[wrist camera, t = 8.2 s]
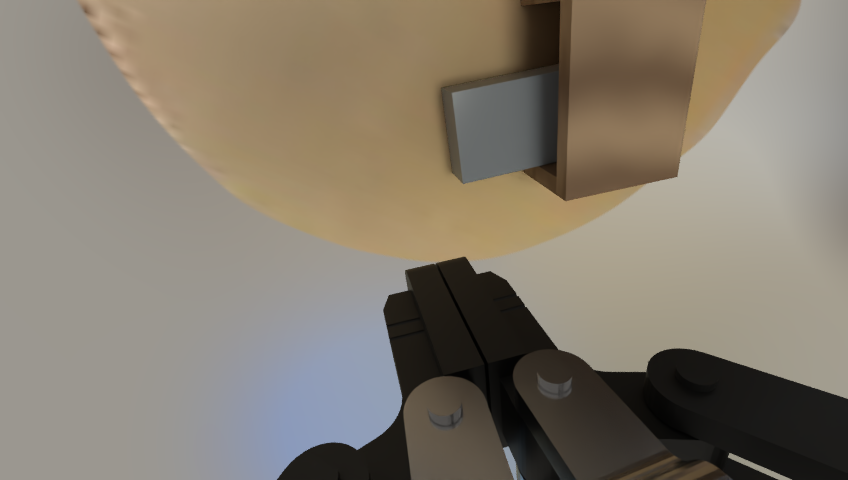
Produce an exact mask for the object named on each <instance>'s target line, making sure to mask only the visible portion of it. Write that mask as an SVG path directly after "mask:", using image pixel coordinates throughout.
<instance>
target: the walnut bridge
mask: <svg viewBox="0 0 848 480" xmlns="http://www.w3.org/2000/svg"><path fill="white" fill-rule="evenodd" d="M556 1H560V45H559V91H558V137H557V162H554V163H550V164H546V165H541V166H537V167H533V168H529V169H524V173H526V174H527V175H529V176H530V177H531V178H533V179H534V180H536V181H537V182H539V183H540V184H542V185H543V186H544V187H546V188H547V189H549V190H550V191H552V192H553V193H555V194H556V195H557V196H559V197H560V198H562V199H563V200H565V201H568V200H573V199H577V198H582V197H587V196H591V195H596V194H600V193H605V192H610V191H614V190H619V189H623V188H628V187H633V186H637V185H642V184H646V183H651V182H655V181H660V180H665V179H669V178H674V177H677V175H678V169H679V163H680V157H681V151H682V145H683V139H684V132H685V126H686V120H687V114H688V108H689V102H690V96H691V90H692V84H693V78H694V72H695V66H696V60H697V54H698V48H699V41H700V35H701V29H702V23H703V17H704V11H705V5H706V0H521V6H525V5H532V4H540V3H548V2H556Z"/></svg>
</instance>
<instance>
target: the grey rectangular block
mask: <svg viewBox="0 0 848 480" xmlns="http://www.w3.org/2000/svg"><path fill="white" fill-rule="evenodd" d="M441 91H442V98H443V106H444V113H445V121H446V128H447V136H448V144H449V151H450V159H451V166H452V173H453V174H454V175H455V176H456V177H457V178H458V179H459V180H460V181H461V182H462V183H463V184H465V183H469V182H473V181H478V180H482V179H486V178H490V177H495V176H499V175H503V174H507V173H512V172H516V171H520V170H524V169H529V168H533V167H537V166H541V165H546V164H550V163H554V162H557V137H558V91H559V64H556V65H551V66H546V67H541V68H536V69H531V70H526V71H522V72H517V73H512V74H507V75H502V76H497V77H492V78H487V79H482V80H477V81H473V82H468V83H463V84H458V85H453V86H448V87H443V88H441Z"/></svg>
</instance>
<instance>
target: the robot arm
mask: <svg viewBox="0 0 848 480" xmlns="http://www.w3.org/2000/svg"><path fill="white" fill-rule="evenodd" d="M405 275H406V281H407V287H408V291H405V292H401V293H396V294H392V295H389V296H388V299H387V302H386V304H385V307H384V310H383V311H384V316H385V321H386V325H387V330H388V335H389V339H390V344H391V348H392V353H393V358H394V362H395V366H396V371H397V375H398V380H399V384H400V389H401V393H402V405H401V409H400V412H399V414H398V416H397V418H396V419H395V421H394V423H393V424H392V425H391V426H390V427H389V428H388V429H387V430H386V431H385V432H384V433H383V434H382V435H380V436H379V437H377V438H376V439H374V440H373V441H371V442H370V443H368V444H366V445H365V446H363V447H362V448H360V449H358V450H356V449H355V448H353V447H351V446H349V445H347V444H343V443H326V444H321V445H318V446H315V447H313V448H310V449H308V450H307V451H305V452H303V453H302V454H300V455H299V456H298V457H296V458H295V459H294V460H293V461H292V462H291V463H290V464H289V465H288V466H287V468H286V469H285V470H284V471H283V472H282V474H281V475H280V476H279V478H278V479H277V480H514V479H513V476H512V473H511V470H510V467H509V464H508V461H507V459H506V456H505V453H504V450H503V448H504V447H507V446H509V448H510V450H511V453H512V455H513V457H514V459H515V461H516V469H517V470H516V472H517V480H778V479H775V478H773V477H771V476H769V475H766V474H764V473H762V472H759V471H757V470H755V469H753V468H750V467H748V466H746V465H743V464H741V463H739V462H736V461H734V460H732V459H730V458H728V455H729V453H732V454H734V455H737V456H739V457H741V458H743V459H746V460H748V461H750V462H753V463H755V464H757V465H760V466H762V467H764V468H767V469H769V470H771V471H774V472H776V473H778V474H780V475H783V476H785V477H788V478H790V479H792V480H848V399H846V398H843V397H840V396H837V395H834V394H831V393H827V392H824V391H821V390H818V389H815V388H812V387H809V386H806V385H803V384H800V383H796V382H793V381H790V380H787V379H784V378H781V377H778V376H774V375H772V374H768V373H765V372H762V371H759V370H756V369H753V368H750V367H747V366H744V365H740V364H737V363H734V362H731V361H728V360H725V359H722V358H719V357H715V356H712V355H709V354H706V353H703V352H699V351H695V350H690V349H669V350H664V351H661V352H659V353H657V354H656V355H654V356H653V357H652V358H651V359H650V361H649V362H648V366H647V371H646V372H603V371H596V370H593V369H592V368H591V367H590V366H589V365H588V364H587V363H586V362H585V361H584V360H582V359H581V358H579V357H578V356H576V355H574V354H571V353H569V352H565V351H561V350H558V349H557V347H556V346H555V345H554V343H553V342H552V341H551V339H550V338H549V337H548V335H547V334H546V333H545V331H544V330H543V329H542V327H541V326H540V325H539V323H538V322H537V321H536V319H535V318H534V317H533V315H532V314H531V312H530V311H529V310H528V309H527V307H525V305H524V303H523V302H522V301H521V299H520V298H519V296H517V295H516V292H515V291H514V290H513V288H512V287H511V286H510V285H509V283H508V282H507V280H505V279H503V278H501V277H499V276H498V275H496V274H494V273H492V272H491V271H489V272H485V273H481V274H476V272H475V271H474V269H473V268H472V266H471V265H470V263H469V261H468V260H467V258H466V257H461V258H456V259H452V260H447V261H443V262H439V263H436V265H435V264H430V265H426V266H422V267H417V268H413V269H408V270H405Z"/></svg>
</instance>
